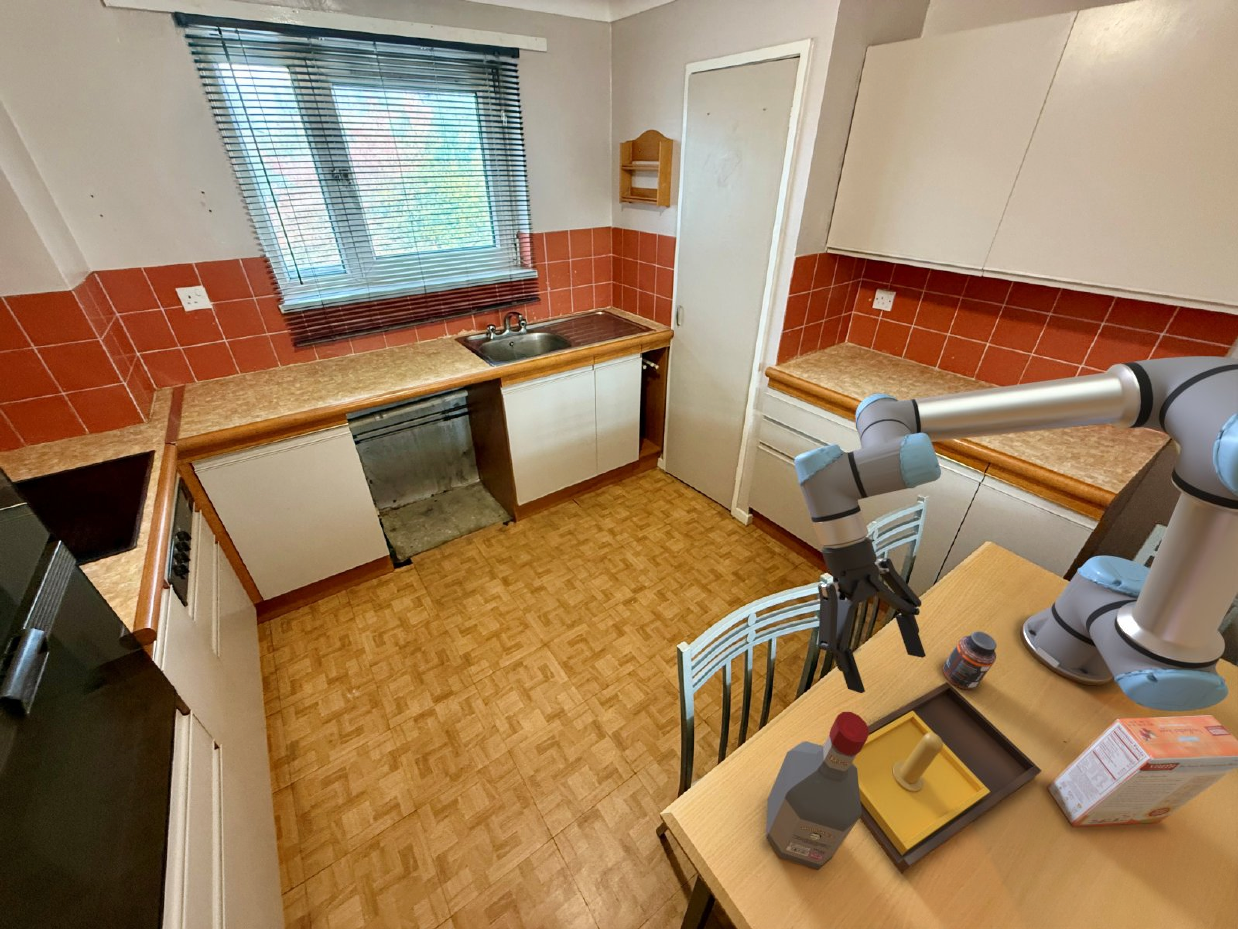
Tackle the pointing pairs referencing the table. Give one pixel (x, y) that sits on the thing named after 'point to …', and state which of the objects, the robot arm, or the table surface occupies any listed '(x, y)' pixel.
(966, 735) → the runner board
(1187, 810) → the table surface
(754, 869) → the table surface
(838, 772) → the liquor
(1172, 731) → the cracker box
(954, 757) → the tray
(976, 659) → the supplement bottle
